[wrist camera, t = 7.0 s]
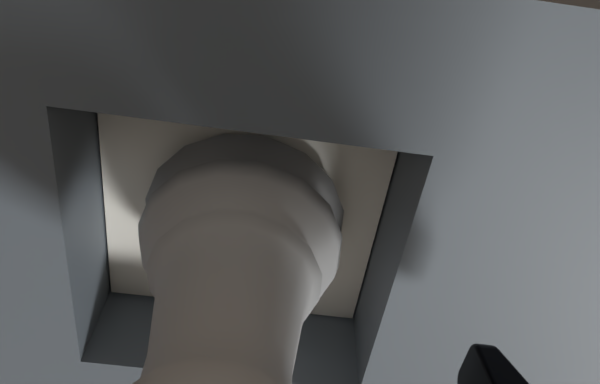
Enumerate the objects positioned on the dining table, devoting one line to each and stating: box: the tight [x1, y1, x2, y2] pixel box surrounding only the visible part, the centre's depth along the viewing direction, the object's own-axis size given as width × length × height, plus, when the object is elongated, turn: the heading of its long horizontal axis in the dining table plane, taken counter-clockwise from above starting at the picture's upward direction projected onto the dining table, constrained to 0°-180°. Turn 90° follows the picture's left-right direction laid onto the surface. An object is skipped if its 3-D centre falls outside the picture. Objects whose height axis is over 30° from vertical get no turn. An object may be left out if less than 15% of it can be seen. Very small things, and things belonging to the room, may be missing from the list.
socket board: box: [0, 0, 600, 384], centre depth 12 cm, size 18×12×2 cm, turn 82°
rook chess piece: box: [132, 134, 344, 384], centre depth 10 cm, size 4×4×8 cm
